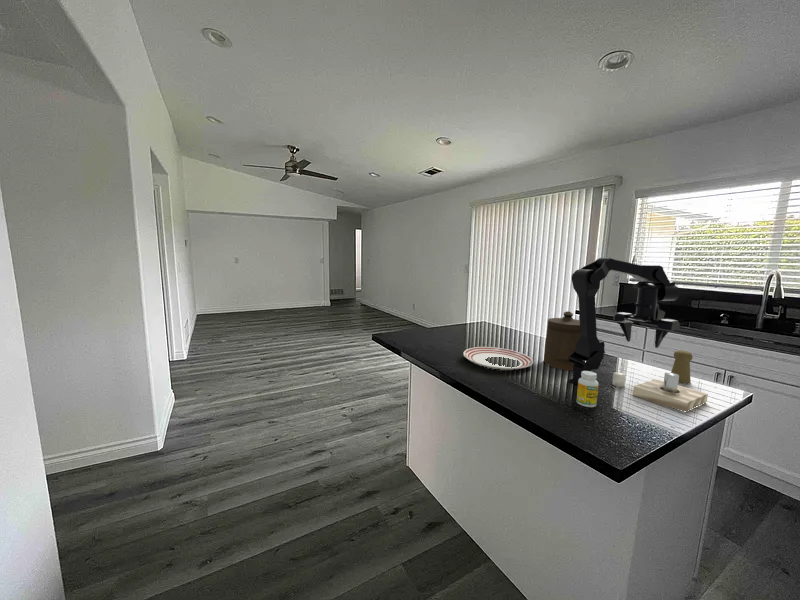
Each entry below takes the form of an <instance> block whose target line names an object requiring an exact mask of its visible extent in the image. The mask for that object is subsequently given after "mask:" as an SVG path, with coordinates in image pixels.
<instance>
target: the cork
mask: <svg viewBox="0 0 800 600" xmlns="http://www.w3.org/2000/svg"><path fill="white" fill-rule="evenodd" d="M673 358H674V362H673V364H672V369H671V372H670V373H674V374H677V375H679V381H678V382H679V383H678V384H682V383H686V384H685V385H688V383H690V384H691V361H692V360H693V354H692V353H691V352H689V351H686V350H682V349H681V350H678V349H677V350H675V351H674V353H673Z"/></svg>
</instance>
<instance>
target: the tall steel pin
mask: <svg viewBox="0 0 800 600" xmlns="http://www.w3.org/2000/svg"><path fill="white" fill-rule="evenodd" d="M663 381H664V383H663V391H667V392H670V393H677V388H678V386H679V383H678V381H679V375H677V374H674V373H671V372H665V373H664V377H663Z"/></svg>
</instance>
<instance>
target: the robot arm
mask: <svg viewBox="0 0 800 600" xmlns="http://www.w3.org/2000/svg"><path fill="white" fill-rule="evenodd" d="M609 272H615V273H618V274H624V275H629V276H631V277H632V278H633V279H636V280H638V282H637V283H635V284H634V285H632V287H633V289H635V288H636V289H638V290H637V299H636V302H634V307H636V308H635V314H633V313H630V312H623V311H622V312H615V314H614V315H613V321H615V322H616V324H618V325H619V327H620V328H621V330H622V333H623V334H624V336H625V340H626V341H627V342H628V343H629V342H631V340H632V339H631V337H632V327H633V324H634V322H636V323H640V324H641V323H642V324H646V325H647V324H648V325H654V326H657V327H658V328H655V338H654V347H655V348H656V349H658V348H659V347H660V345H661V343H662V342H663V340H664V339H665V338H666V335H668V333H669V332H672V331H675V330H679V329H680V328H681V327H680V326H681V323H680V322H679V320H676V319H671V318H664V317H665V314H666V312H665V311H663V310H662V309H660V304H658V302H662V301H663V302H667V301H668V302H669V301H670V302H671V301H672V302H674V301H677V300H678V299H679V297H680V295H681V291H680V289H679V287H678V286H677V285H676V282H675V281H670V280H669V278H668V276H667V274H666V272H665V270H664V267H663V266H662V265H659V264H657V265H654V264H637V263H636V264H635V263H633V262H632V263H631V262H627V261H623V260H619V259H614V258H612V257H599V258H597V259H596V260H594V261H593V262H591V263H589V264H586V265H583V267H581V268H579V269H576V270H575V271H574V272H573V273H572V274H571V282H572V283H571V284H572V288H573V290H574V291H575V293H576V295H577V297H578V298H577V299H578V312H579V313H578V315H579V320H580V338H579V340H578V341H577V344H576V350H575V351H574V352H573V353H572V354H571V355H570V356H569V357H568V359H569V362H570V363H573V364H574V366H573V371H572V376H571V377H572V378H569V379H567V382H569V383H572V384H574V385H576V386H578V380H579V379H580V378H582V377H581V372H582V371H591V372H594V371H595V370H598V369H599V368H600V365H601V363H602V360H604V357H605V355H604V354H606V350H605V346H606V345H605V342H604V341H602V340H600V339H599V338H598V335H597V334H598V333H597V313H596V312H597V310H596V294H597V293H598V291H599V290H600V286H601V281H603V280H604V279H605V278H606V277H608V275H609ZM582 360H585V362H584V361H582Z"/></svg>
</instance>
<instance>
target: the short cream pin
mask: <svg viewBox="0 0 800 600" xmlns="http://www.w3.org/2000/svg"><path fill="white" fill-rule="evenodd" d="M625 383H626V374H625V373H623V372H619V371H617V372H616V371H615V372H613V375H612V384H611V385H613V386H615V387H617V388H618V387H619V388H624V387H625V385H626V384H625Z"/></svg>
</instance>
